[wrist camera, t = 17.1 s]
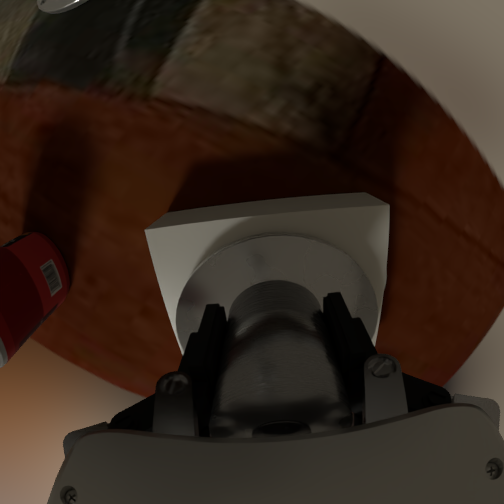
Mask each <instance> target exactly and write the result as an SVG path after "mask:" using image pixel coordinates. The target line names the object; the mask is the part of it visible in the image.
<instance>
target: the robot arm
mask: <svg viewBox="0 0 504 504" xmlns="http://www.w3.org/2000/svg"><path fill="white" fill-rule="evenodd" d="M86 1H88V0H37V5H38V7H39V9H41V10H42V11H44V12H47V13H50V14H57V13H61V12H65V11H68V10H70V9H73V8H75V7H77V6H79V5H81V4H83V3H85V2H86ZM323 315H324V318H325V321H326V324H327V328H328V331H329V334H330V337H331V340H332V344H333V347H334V350H335V354H336V357H337V360H338V364H339V367H340V371H341V374H342V378H343V381H344V385H345V388H346V392H347V396H348V399H349V403H350V407H351V411H352V412H353V413H352V414H353V423H352V427H348V428H342V429H337V430H331V431H324V432H317V433H309V434H301V435H291V436H278V437H259V438H214V437H212V436H211V434H210V432H209V423H210V417H211V411H212V405H213V399H214V393H215V387H216V382H217V376H218V370H219V365H220V359H221V353H222V348H223V342H224V337H225V331H226V326H227V318H226V313H225V309H224V306H220V305H219V303H216V304H207V305H206V307H205V310H204V313H203V317H202V320H201V323H200V326H199V329H198V332H192V333H191V334H190V336H189V339H188V342H187V345H186V348H185V351H184V354H183V357H182V360H181V363H180V366H179V369H178V371H174V372H169V373H167V374H165V375H163V376H162V377H161V378H160V379H159V380H158V382H157V384H156V390H155V394H153V395H151V396H149V397H148V398H146V399H144V400H142V401H140V402H138V403H136V404H135V405H133V406H131V407H129V408H127V409H125V410H123V411H122V412H119V413H118V414H116V415H115V416H114V417H113V418H112V420H111V422H110V423H107V422H102V423H99V424H96V425H93V426H90V427H86V428H83V429H80V430H76V431H72V432H71V433H68V435H66V436H65V439H64V441H63V447H64V454H65V460H64V461H63V464H62V466H61V468H60V470H59V473H58V475H57V477H56V480H55V483H54V485H53V488H52V491H51V494H50V497H49V500H48V503H47V504H504V440H503V438H502V436H501V435H500V433H499V418H500V409H499V406H498V404H497V403H496V402H495V401H494V400H492V399H488V398H480V397H472V396H467V395H461V394H455V395H454V396H450V394H449V392H448V391H447V390H446V389H444V388H442V387H440V386H437V385H435V384H432V383H429V382H426V381H424V380H421V379H418V378H415V377H413V376H410V375H407V374H405V373H402V372H401V367H400V364H399V362H398V360H397V359H396V358H394V357H393V356H391V355H387V354H378V353H377V351H376V349H375V347H374V345H373V343H372V340H371V338H370V336H369V334H368V332H367V330H366V328H365V326H364V324H363V322H362V320H361V318H360V317H357V318H352V316H351V314H350V312H349V310H348V308H347V306H346V303H345V301H344V299H343V297H342V295H341V293H340V292H332V293H328V294H327V296H326V297H323Z"/></svg>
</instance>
